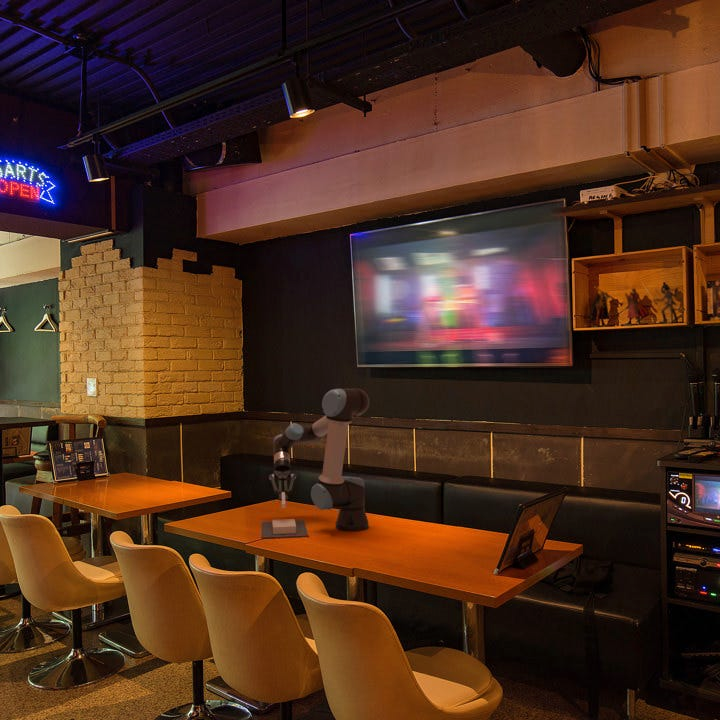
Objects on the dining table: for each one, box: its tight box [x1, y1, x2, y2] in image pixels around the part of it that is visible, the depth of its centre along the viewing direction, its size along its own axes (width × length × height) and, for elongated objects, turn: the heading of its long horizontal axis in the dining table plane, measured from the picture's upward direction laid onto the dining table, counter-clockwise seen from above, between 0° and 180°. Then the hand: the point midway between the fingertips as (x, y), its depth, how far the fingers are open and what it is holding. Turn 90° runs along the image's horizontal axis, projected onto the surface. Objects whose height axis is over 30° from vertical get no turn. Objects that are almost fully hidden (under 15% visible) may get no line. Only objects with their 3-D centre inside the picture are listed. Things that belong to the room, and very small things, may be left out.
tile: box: [272, 518, 296, 535], centre depth 302 cm, size 3×10×15 cm
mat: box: [260, 519, 309, 540], centre depth 307 cm, size 30×20×1 cm, turn 8°
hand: (283, 505), depth 305 cm, fingers closed
